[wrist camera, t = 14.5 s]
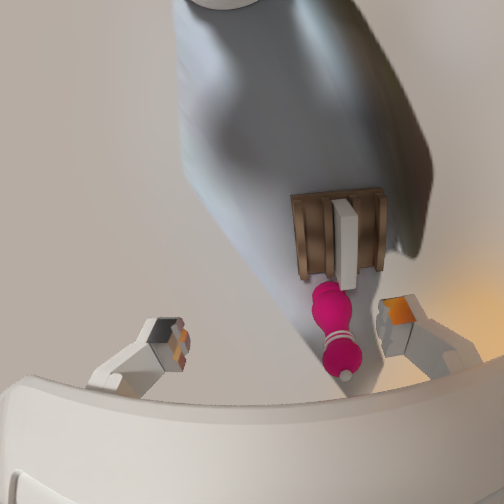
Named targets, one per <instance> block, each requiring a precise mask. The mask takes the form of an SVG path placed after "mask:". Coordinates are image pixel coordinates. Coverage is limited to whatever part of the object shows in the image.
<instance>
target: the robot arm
mask: <svg viewBox="0 0 504 504" xmlns="http://www.w3.org/2000/svg"><path fill="white" fill-rule="evenodd" d="M191 1H193V2H194V3H196V4H198V5H200V6H203V7H206V8H210V9H217V10H228V9H236V8H240V7H244V6H247V5H250V4H252V3H254V2H256V1H258V0H191ZM378 309H379V311H380V313H379V314H378V315H377V320H376V329H377V334H378V337H379V338H380V339H381V340H383V341H382V345H381V346H382V349H383V352H384V355H385V357H392V356H398V355H403V354H404V356H406V357H407V358H408V359H409V360H410V361H411V362H412V363H414V364H415V365H416V366H417V367H418V368H419V369H420V370H421V371H423V372H424V373H425V374H426V375H427V376H428V377H429V378H430V379H431V380H430V381H426V382H422V383H418V384H415V385H411V386H406V387H402V388H398V389H393V390H388V391H383V392H378V393H373V394H367V395H362V396H355V397H349V398H342V399H335V400H327V401H318V402H307V403H297V404H280V405H248V406H247V405H246V406H245V405H243V406H242V405H240V406H236V405H233V406H232V405H201V404H185V403H173V402H163V401H153V400H146V399H140V398H141V397H142V396H143V395H144V394H145V393H146V392H147V391H148V390H149V389H150V388H151V387H152V386H153V384H155V383H156V381H157V380H158V379H159V378H160V377H161V376H162V375H163V374H164V373H165V372H183V369H184V366H185V363H186V359H185V357H184V356H185V355H186V354H187V353H189V350H190V337H189V334H188V332H187V331H186V330H185V329H183V327H184V322H183V320H182V318H180V317H150V318H148V319H147V320H146V322H145V324H144V326H143V328H142V330H141V332H140V334H139V336H138V338H137V340H136V342H135V343H131V344H130V345H128V346H127V347H126V348H124V349H123V350H121V351H120V352H119V353H117V354H116V355H115V356H113V357H112V358H110V359H109V360H108V361H106V362H105V363H103V364H102V365H101V366H99V367H98V368H97V369H95V371H94V373H93V374H92V376H91V378H90V380H89V382H88V384H87V386H86V388H85V389H83V388H79V387H75V386H71V385H67V384H63V383H59V382H56V381H52V380H48V379H45V378H42V377H39V376H36V375H27V376H25V377H23V378H22V379H20V380H18V381H17V382H15V383H14V384H12V385H10V386H9V387H8V388H7V389H5V390H4V391H3V392H2V394H1V395H0V504H504V355H502V356H500V357H497V358H495V359H492V360H490V361H487V362H485V363H483V361H482V359H481V357H480V355H479V353H478V351H477V350H476V348H475V346H474V344H473V343H472V342H470V341H469V340H467V339H465V338H464V337H462V336H460V335H459V334H457V333H455V332H454V331H452V330H450V329H448V328H447V327H445V326H443V325H441V324H440V323H438V322H436V321H435V320H433V319H428V317H427V316H426V314H425V312H424V310H423V308H422V307H421V305H420V303H419V302H418V300H417V298H416V297H415V295H414V294H411V295H406V296H402V297H395V298H389V299H382V300H380V302H379V305H378Z"/></svg>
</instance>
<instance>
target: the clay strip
mask: <svg viewBox="0 0 504 504" xmlns="http://www.w3.org/2000/svg"><path fill="white" fill-rule="evenodd" d="M331 202H332V215H333V244H334V270H335V273H336V276H337V280H338V283H339V286H340V289H341V290H350V289H356V277H357V252H358V215H357V213H356V212H355V211H354V209H353V208H352V206H351V205H350V204H349V202H348V201H347V199H336V200H331Z"/></svg>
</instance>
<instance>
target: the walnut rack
mask: <svg viewBox="0 0 504 504" xmlns="http://www.w3.org/2000/svg"><path fill="white" fill-rule="evenodd" d="M336 199H347V201H348V202H349V204H350V205H351V206H352V208H353V209H354V211H355V212H356V213H357V215H358V252H357V274H359V268H364V267H372V266H374V268H375V270H376V271H377V272H379V271H383V267H384V256H385V243H386V226H387V197H386V196H385V195H384V194H383V189H382V188H366V189H352V190H340V191H329V192H318V193H307V194H298V195H291V203H292V212H293V221H294V231H295V241H296V252H297V263H298V273H299V275H300V279H301V280H308V274H311V273H320V272H325V273H326V276H327V278H329V277H334V271H335V270H334V244H333V215H332V202H331V200H336Z"/></svg>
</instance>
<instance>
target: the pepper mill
mask: <svg viewBox="0 0 504 504" xmlns="http://www.w3.org/2000/svg"><path fill="white" fill-rule="evenodd" d="M312 298H313V306H312V314H313V318H314V320H315V322H316V323H317V325H318V326H319V327H320V328H321V329H322V330H323V331H324V333H325V336H326V338H325V340H324V343H323V345H324V351H325V352H324V354H323V366H324V368H325V370H326V371H327V372H328V373H329V374H330V375H332V376H335V377H340V379H341V380H342V381H343V382H347V381H349V380H350V379H351V378H352V374H353V373H354V372H356V371H357V370H358V368H359V367H360V365H361V362H362V352H361V349H360V347H359V346H358V345H357V344H356V342H355V338H354V335H353V334H352V333H351V332H349V328H348V325H349V321H350V318H351V315H352V305H351V301H350V299H349V298H348V296H347V295H346V294H345V291H344V290H341V289H340V286H339V283H337V282H333V281H330V282H324V283H322V284H320V285H319V286H317V287H316V288H315V290H314V292H313V295H312Z"/></svg>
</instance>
